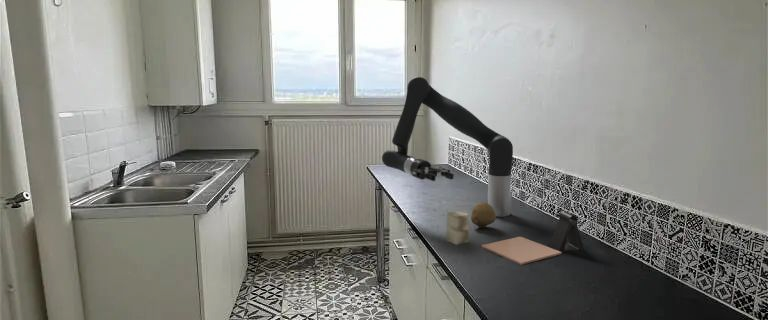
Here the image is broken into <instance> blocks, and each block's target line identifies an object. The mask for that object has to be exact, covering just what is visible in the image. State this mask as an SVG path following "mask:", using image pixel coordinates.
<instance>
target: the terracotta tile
mask: <svg viewBox="0 0 768 320" xmlns="http://www.w3.org/2000/svg"><path fill="white" fill-rule="evenodd" d="M480 247H481V248H482V249H484V250H487V251H489V252H492V253H493V254H495V255H498V256H501V257H502V258H505V259H507V260H509V261H511V262H513V263H516V264H518V265H521V266H522V265H526V264H529V263H533V262H537V261H540V260H543V259H549V258H551V257H555V256H559V255H562V253H563V252H560V251H557V250H556V249H554V248H553V247H549V246H546V245H544V244H541V243H539V242H536V241H533V240H530V239H528V238H526V237H522V236H517V237H512V238H508V239H503V240H499V241H494V242H490V243H486V244H485V243H484V244H481V245H480Z"/></svg>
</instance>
